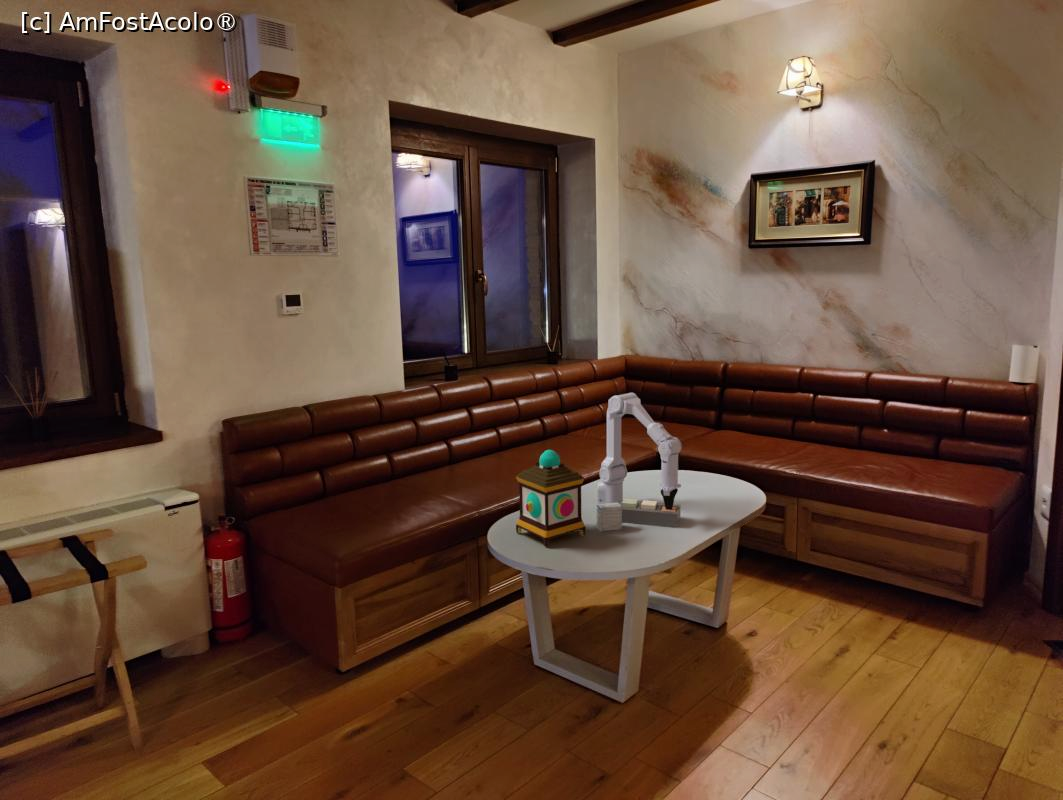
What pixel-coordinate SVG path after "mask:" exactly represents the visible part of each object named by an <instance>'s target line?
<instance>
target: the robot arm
mask: <svg viewBox="0 0 1063 800" xmlns="http://www.w3.org/2000/svg"><path fill="white" fill-rule="evenodd" d="M641 402H642V401H641V398H639V397H638V396H637V394H636V393H634V392H628V393H622V394H619V395H617V394H616V395H613V396H611V397H610V398H609V399H608V405H607V406H608V407H607V410H606V456H605V458H604V459H603V460H602V461H601V464H600V465H601V466H600V469H599V478H600V480H599V481H598V484H597V504H605V503H619V504H621V502H622V501H623V500H624V497H623V495H624V494H623V493H624V492H623V491H624V489H623V488H624V484H623V483H624V481H625V478H626V477H627V475H628V469H627V467H626V460H625V459H624V458H623V457H622V417H624V415H627V414H628V415H632V416H634V417H635V418H636V419H637V420H638V421H639V422H640V423H641V424H642V425H643V426H644V427H645V428H646V429H647V430H646V433H647V436H649V437H650V438H651V439H652V440H653V442H654V443H655V444H656V445H657V450H658V453H659V455H660V459H661V467H660V468H661V469H660V470H661V471H660V475H661V476H660V479H661V481H660V487H661V488H660V489H661V490H660V494H661V496H662V499H663V504H665V508H666V509H667V510H672V508H673V504H675V503H674V502H675V498H676V496H677V494H678V491H679V488H680V489H681V488H682V484H681V483H678V481H679V480H678V477H679V476H678V475H679V453H680V452H681V451H682V449H683V447H682V446H683V445H682V442H681V441H680V439H679V438H678V437H677V436H673V435H671V434H670V432H668V431H667V430H666V429H665V427H664V425H663V424H662V423H660V422H655V421H654V420H653V418H652V416H650V414H649V413H648V412H647V411H646V408H644V406H643V405H642V404H641Z"/></svg>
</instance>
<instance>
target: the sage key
mask: <svg viewBox="0 0 1063 800" xmlns="http://www.w3.org/2000/svg"><path fill="white" fill-rule="evenodd" d="M638 501H639V499H635V498H623V501H622V507H625V508H637V506H638Z"/></svg>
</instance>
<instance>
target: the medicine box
mask: <svg viewBox="0 0 1063 800" xmlns="http://www.w3.org/2000/svg"><path fill="white" fill-rule="evenodd" d="M622 526H623V525H622V506H621V505H620V504H619V503H605V504H598V503H597V504H596V528H597V529H598V531H599V532H607V531H617V530H623V527H622Z"/></svg>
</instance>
